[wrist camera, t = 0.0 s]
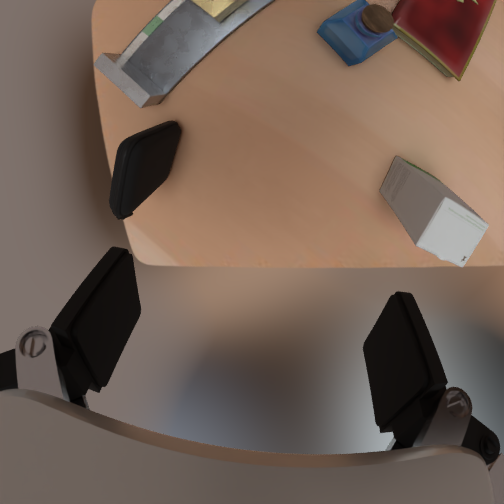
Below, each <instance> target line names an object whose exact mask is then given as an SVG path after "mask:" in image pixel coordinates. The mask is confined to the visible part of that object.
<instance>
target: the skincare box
mask: <svg viewBox="0 0 504 504" xmlns="http://www.w3.org/2000/svg"><path fill="white" fill-rule="evenodd" d="M380 193H381V194H382V195H383V197H384V198H385V200H386V201H387V202H388V204H389V205H390V207H391V208H392V210H393V211H394V213H395V214H396V216H397V217H398V219H399V220H400V222H401V223H402V225H403V226H404V228H405V229H406V231H407V232H408V234H409V236H410V237H411V239H412V240H413V242H414V244H415V245H416V246H417V247H420V248H422V249H424V250H426V251H428V252H430V253H432V254H434V255H436V256H437V257H438V258H439V259H441V260H447V261H449V262H451V263H453V264H455V265H458V266H460V267H463V266H464V265H465V263H466V262H467V260H468V259H469V257H470V255H471V254H472V252H473V251H474V249H475V247H476V246H477V244H478V243H479V241H480V239H481V238H482V236H483V235H484V233H485V231H486V229H487V227H488V226H489V225H488V224H487V223H486V222H485V221H484V220H483V219H482V218H481V217H480V216H479V215H478V214H477V213H476V212H475V211H474V210H473V209H472V208H471V207H469V206H468V205H467V204H466V203H465V202H464V201H463V200H462V199H461V198H460V197H458V196H457V195H456V194H455V193H454V192H453V191H451V190H450V189H449V188H448V187H447V186H446V185H444V184H443V183H442V182H441V181H440V180H438V179H437V178H436V177H434V176H433V175H431V174H429V173H428V172H426V171H424V170H422V169H421V168H419V167H417V166H415V165H413V164H411V163H409V162H408V161H406V160H404V159H402V158H400V157H398V156H396V157H395V159H394V161H393V163H392V165H391V168H390V170H389V172H388V174H387V176H386V178H385V180H384V182H383V184H382V186H381V189H380Z"/></svg>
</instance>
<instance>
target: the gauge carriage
mask: <svg viewBox="0 0 504 504" xmlns="http://www.w3.org/2000/svg"><path fill="white" fill-rule="evenodd" d="M191 1H192V2H194V3H195V4H196V5H198V6H199V7H200V8H201V9H203V10H204V11H205V12H207V13H208V14H209V15H210V16H212V17H213V18H214V19H215V20H217V21H218V22H221V21H222V20H223V19H224V18H225V17H227V16H228V15H229V14H230V13H232V12H233V11H234V10H235V9H237V8H238V7H239V6H241V5H242V4H243V3H245V2H246V1H247V0H191Z"/></svg>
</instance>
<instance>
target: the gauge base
mask: <svg viewBox="0 0 504 504" xmlns="http://www.w3.org/2000/svg"><path fill="white" fill-rule="evenodd" d="M274 1H275V0H247V1H246V2H245V3H243V4H242V5H241V6H239V7H238V8H237V9H235V10H234V11H233V12H232V13H230V14H229V15H228V16H227V17H225V18H224V19H223V20H222V21H221V22H218V21H217V20H215V19H214V18H213V17H212V16H210V15H209V14H208V13H207V12H205V11H204V10H203V9H201V8H200V7H199V6H198V5H196V4H195V3H194V2H192V1H191V0H171V1H170V2H169V3H168V4H167V5H166V6H165V7H164V8H163V9H162V10H161V11H160V12H159V13H158V14H157V15H156V16H155V17H154V18H153V19H152V20H151V21H150V22H149V23H148V24H147V25H146V26H145V27H144V28H143V29H142V31H141V32H140V33H139V34H138V35H137V36H136V37H135V38H134V40H133V41H132V42H131V43H130V44H129V45H128V47H127V48H126V49H125V50H124V51H123V53H122V54H113V53H102V54H101V55H100V56H99V58H98V59H97V60H96V62H95V63H94V66H95V67H96V68H98V69H99V70H100V71H101V72H102V73H103V74H104V75H105V76H106V77H107V78H109V79H110V80H111V81H112V82H113V83H114V84H115V85H116V86H117V87H118V88H119V89H120V90H122V91H123V92H124V93H125V94H126V95H127V96H128V97H129V98H130V99H131V100H132V101H133V102H134V103H135V104H136V105H138V106H139V107H140V108H143V107H148V106H152V105H157V104H160V103H161V102H162V101H163V99H164V98H165V97H166V96H167V95H168V94H169V93H170V92H171V91H172V90H173V88H174V87H175V86H176V85H177V84H178V83H179V82H180V81H181V80H182V79H183V78H184V77H185V76H186V75H187V74H188V73H189V72H190V71H191V70H192V69H193V68H194V67H195V66H196V65H197V64H198V63H199V62H200V61H201V60H202V59H203V58H204V57H205V56H207V55H208V54H209V53H210V52H211V51H212V50H213V49H214V48H215V47H216V46H218V45H219V44H220V43H221V42H222V41H223V40H224V39H226V38H227V37H228V36H229V35H230V34H232V33H233V32H234V31H235V30H236V29H238V28H239V27H240V26H241V25H243V24H244V23H245V22H246V21H248V20H249V19H250V18H252V17H253V16H254V15H256V14H257V13H258V12H260V11H261V10H262V9H264V8H265V7H266V6H268V5H269V4H271V3H272V2H274Z"/></svg>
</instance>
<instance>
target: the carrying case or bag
mask: <svg viewBox="0 0 504 504" xmlns="http://www.w3.org/2000/svg"><path fill="white" fill-rule="evenodd" d="M180 134H181V129H180V127H179V126H178V124H177V122H176V121H167V122H165V123H162V124H159V125H157V126H154V127H152V128H149V129H146V130H144V131H141V132H139V133H136V134H134V135H132V136H130V137H128V138H126V139H125V140H124V141H123V142H122V143H121V144H120V145H119V147H118V150H117V154H116V160H115V165H114V171H113V177H112V184H111V191H110V199H109V203H110V208H111V209H112V212H113V214H114V215H115V216H116V217H117V218H118V219H125V218H127V217H129V216H132V215H133V211H134V210H135V209H136V208H137V207H138V206H139V205H140V204H141V203H142V202H143V201H144V200H146V199H147V198H148V197H149V196H150V195H151V194H152V193H153V192H154V191H155V190H156V189H157V188H158V187H159V186H160V185H161V184H162V183H163V182H164V181H165V180H166V179H167V177H168V175H169V172H170V169H171V165H172V162H173V158H174V155H175V151H176V148H177V144H178V141H179V138H180Z"/></svg>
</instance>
